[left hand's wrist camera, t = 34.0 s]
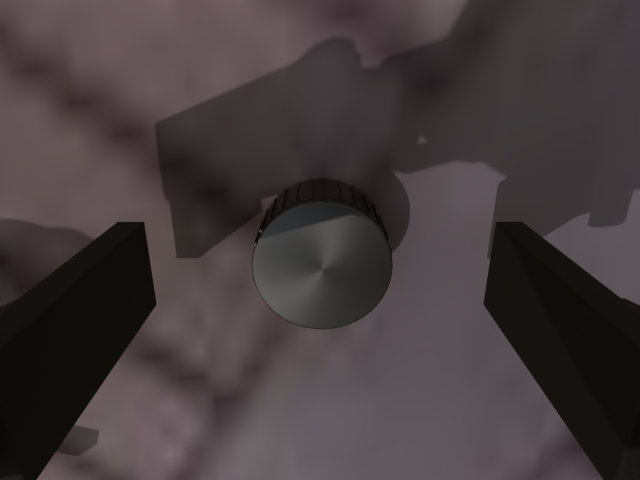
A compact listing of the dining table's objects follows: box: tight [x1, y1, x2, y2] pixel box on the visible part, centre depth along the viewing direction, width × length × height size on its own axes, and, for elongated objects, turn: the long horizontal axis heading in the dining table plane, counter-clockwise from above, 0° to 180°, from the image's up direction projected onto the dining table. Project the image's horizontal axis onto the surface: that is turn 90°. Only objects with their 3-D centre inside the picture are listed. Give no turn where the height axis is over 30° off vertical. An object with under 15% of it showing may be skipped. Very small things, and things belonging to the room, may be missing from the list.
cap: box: [252, 178, 392, 329], centre depth 14 cm, size 4×4×3 cm
